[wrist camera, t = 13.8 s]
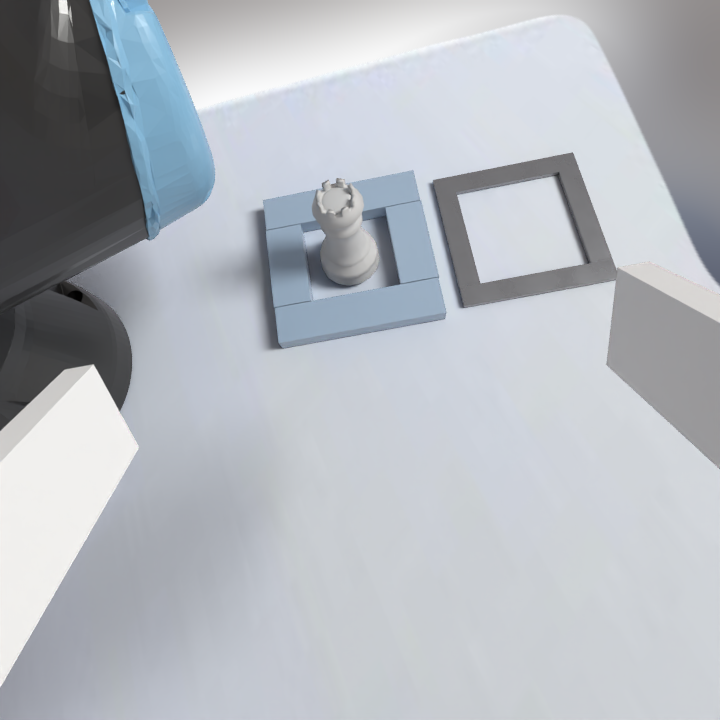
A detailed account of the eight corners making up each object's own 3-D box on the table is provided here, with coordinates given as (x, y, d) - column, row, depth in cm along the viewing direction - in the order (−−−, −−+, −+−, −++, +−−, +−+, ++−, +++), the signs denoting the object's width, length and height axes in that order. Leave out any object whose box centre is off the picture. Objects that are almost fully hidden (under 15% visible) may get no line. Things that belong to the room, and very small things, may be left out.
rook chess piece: (337, 228, 35) (318, 155, 27) (389, 247, 34) (384, 177, 27) (312, 276, 34) (285, 214, 26) (365, 297, 33) (353, 238, 26)
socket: (282, 348, 33) (277, 343, 32) (266, 209, 36) (262, 200, 35) (445, 318, 32) (447, 312, 31) (413, 180, 36) (414, 170, 35)
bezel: (463, 307, 32) (464, 306, 32) (432, 182, 35) (433, 180, 35) (617, 279, 32) (619, 277, 31) (571, 155, 35) (572, 152, 35)
